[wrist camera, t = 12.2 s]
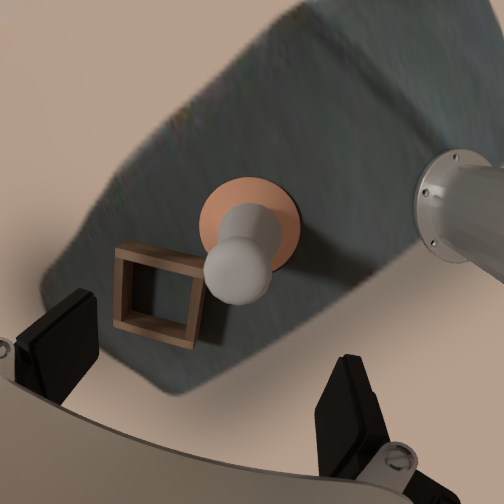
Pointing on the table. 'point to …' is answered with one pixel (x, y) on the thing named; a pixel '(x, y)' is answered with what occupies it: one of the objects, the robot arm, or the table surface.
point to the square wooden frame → (147, 323)
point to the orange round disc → (256, 194)
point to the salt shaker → (243, 254)
